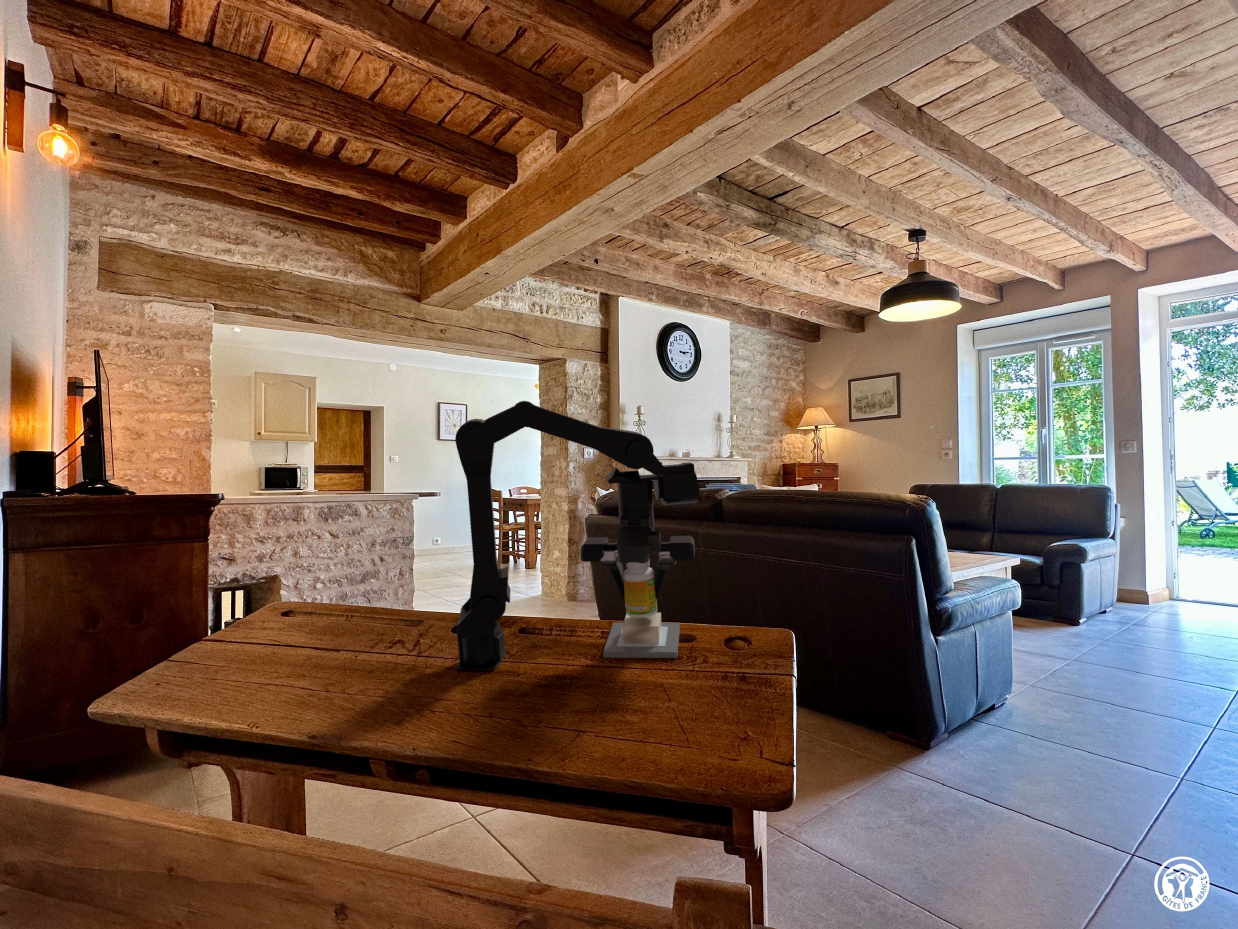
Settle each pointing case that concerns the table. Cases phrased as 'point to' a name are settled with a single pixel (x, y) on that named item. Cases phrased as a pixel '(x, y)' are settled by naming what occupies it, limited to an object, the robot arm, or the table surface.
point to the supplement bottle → (640, 590)
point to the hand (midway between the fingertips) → (640, 597)
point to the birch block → (642, 629)
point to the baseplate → (629, 650)
